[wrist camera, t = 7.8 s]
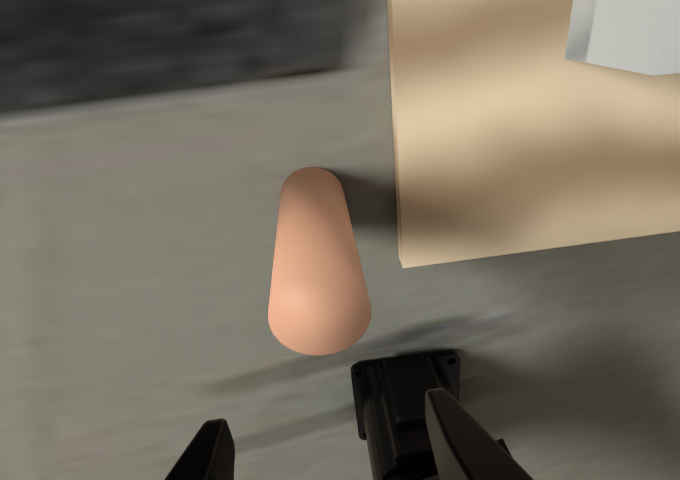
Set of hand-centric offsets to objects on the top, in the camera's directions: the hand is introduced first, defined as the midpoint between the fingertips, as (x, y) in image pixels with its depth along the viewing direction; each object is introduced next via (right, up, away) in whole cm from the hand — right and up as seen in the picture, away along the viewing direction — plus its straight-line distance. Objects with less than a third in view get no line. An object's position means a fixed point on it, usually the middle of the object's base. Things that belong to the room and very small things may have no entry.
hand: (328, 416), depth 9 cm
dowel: (-1, +6, +11) cm, 12 cm away
